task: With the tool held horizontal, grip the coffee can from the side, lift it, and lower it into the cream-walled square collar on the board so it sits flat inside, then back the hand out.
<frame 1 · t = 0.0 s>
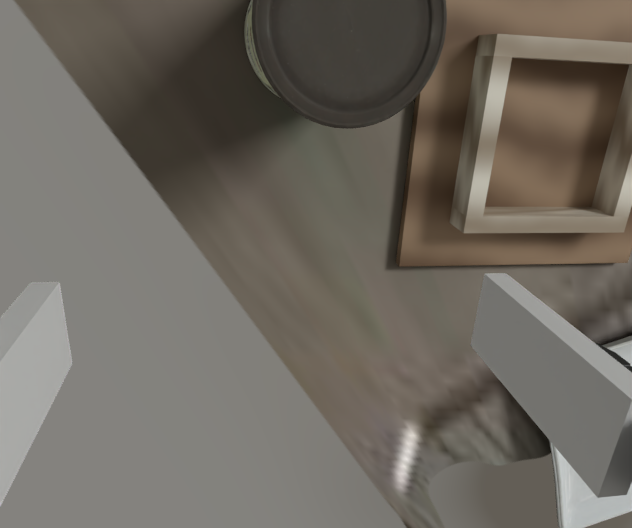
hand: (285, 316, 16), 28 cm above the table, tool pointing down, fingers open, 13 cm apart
coffee can: (310, 35, 39), on the table
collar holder: (539, 136, 45), on the table
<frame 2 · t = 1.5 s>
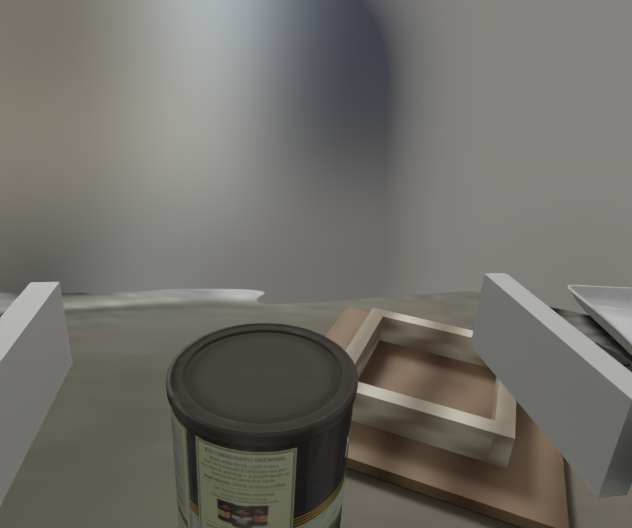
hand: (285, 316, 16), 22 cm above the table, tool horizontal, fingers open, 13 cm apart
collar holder: (424, 395, 49), on the table
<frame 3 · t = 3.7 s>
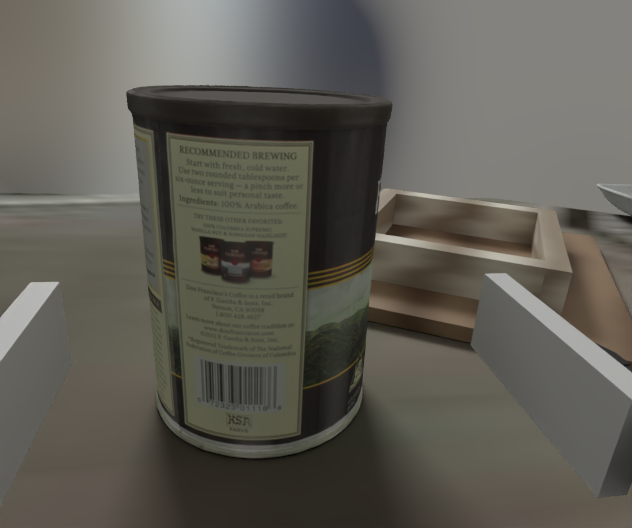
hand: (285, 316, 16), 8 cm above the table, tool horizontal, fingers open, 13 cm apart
coffee can: (260, 388, 25), on the table
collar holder: (449, 266, 41), on the table
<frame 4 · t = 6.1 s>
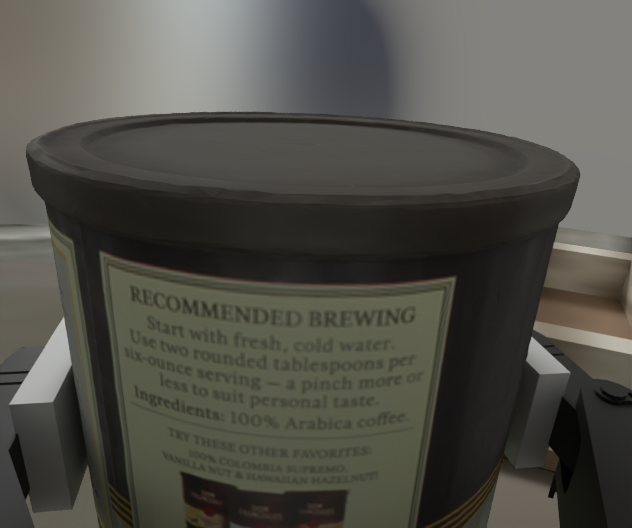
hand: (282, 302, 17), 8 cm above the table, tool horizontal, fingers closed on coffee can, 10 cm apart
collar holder: (522, 333, 32), on the table
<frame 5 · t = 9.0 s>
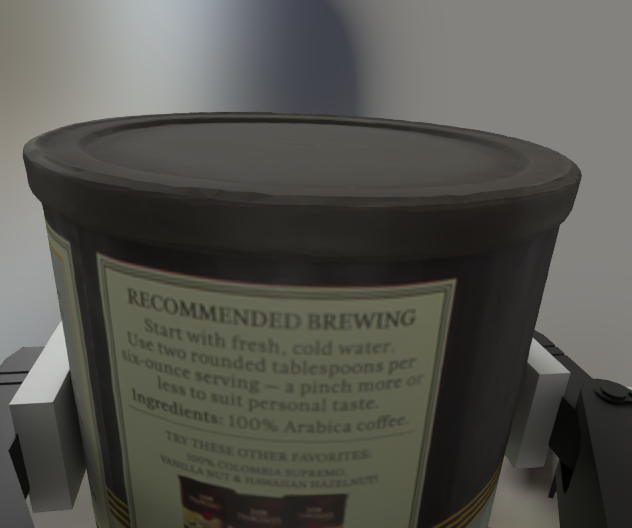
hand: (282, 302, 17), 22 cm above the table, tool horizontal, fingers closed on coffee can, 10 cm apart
when the fingers open (10 cm above the table, at t = 12.2 s): coffee can drops 1 cm, resting on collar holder.
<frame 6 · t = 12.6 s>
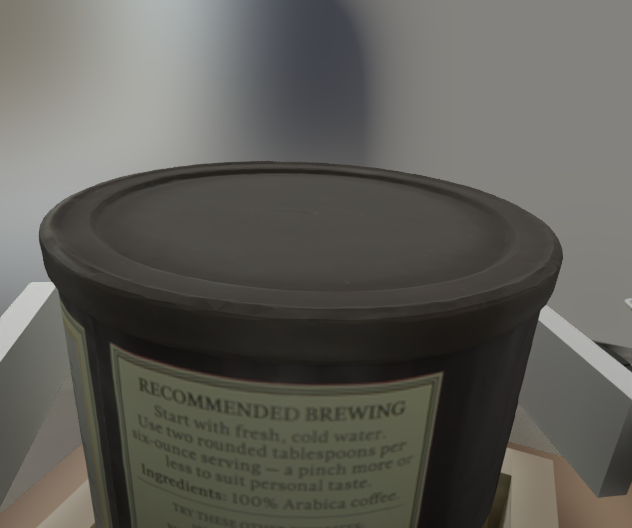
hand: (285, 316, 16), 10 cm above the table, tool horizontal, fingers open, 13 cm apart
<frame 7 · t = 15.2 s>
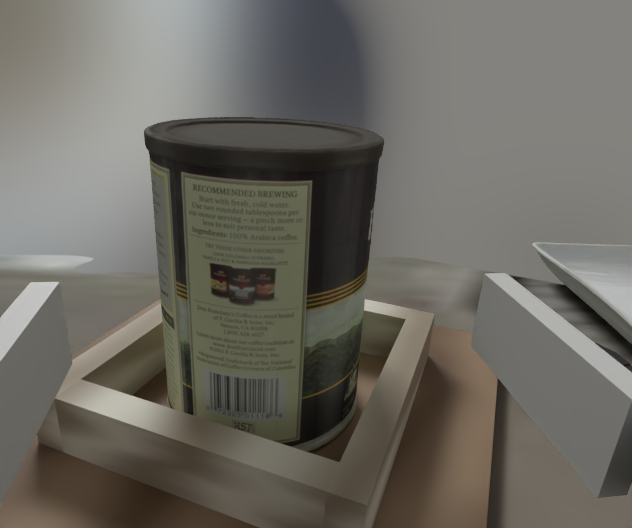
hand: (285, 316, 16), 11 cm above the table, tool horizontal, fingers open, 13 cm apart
coffee can: (262, 396, 27), point 1 cm above the table, touching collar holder
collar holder: (263, 407, 28), on the table
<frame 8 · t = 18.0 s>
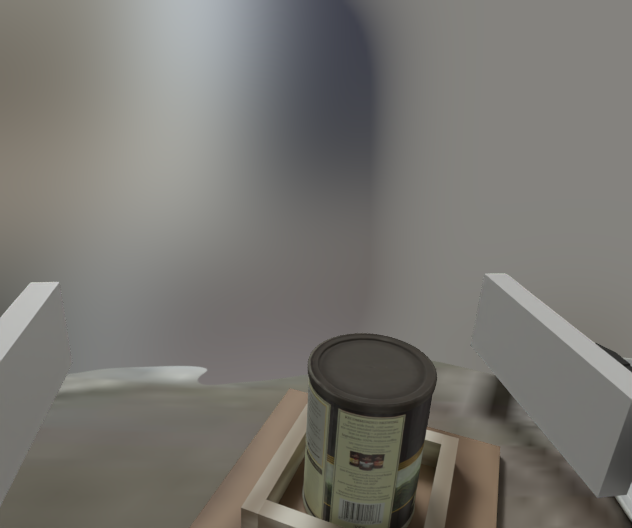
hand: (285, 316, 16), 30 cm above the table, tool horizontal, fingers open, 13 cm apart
coffee can: (357, 497, 45), point 1 cm above the table, touching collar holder
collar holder: (356, 503, 46), on the table
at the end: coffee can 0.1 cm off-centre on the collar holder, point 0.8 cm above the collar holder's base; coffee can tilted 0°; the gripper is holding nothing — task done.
